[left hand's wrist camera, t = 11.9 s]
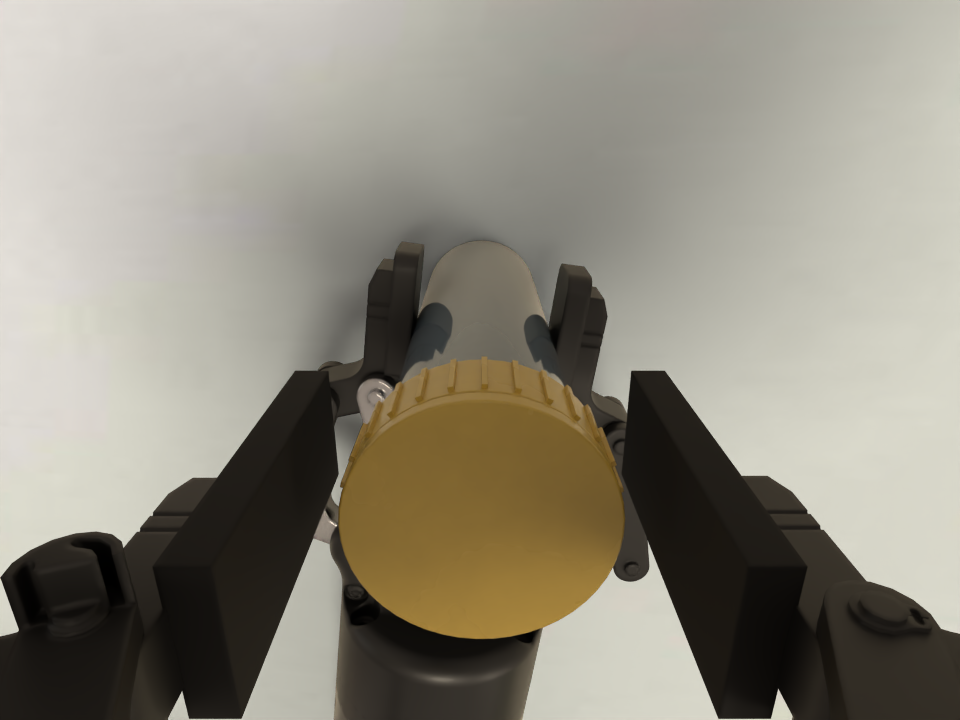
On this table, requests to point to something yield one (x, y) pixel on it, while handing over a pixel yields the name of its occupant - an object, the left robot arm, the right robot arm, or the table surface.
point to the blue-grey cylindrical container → (481, 313)
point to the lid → (481, 501)
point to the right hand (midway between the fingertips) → (492, 261)
